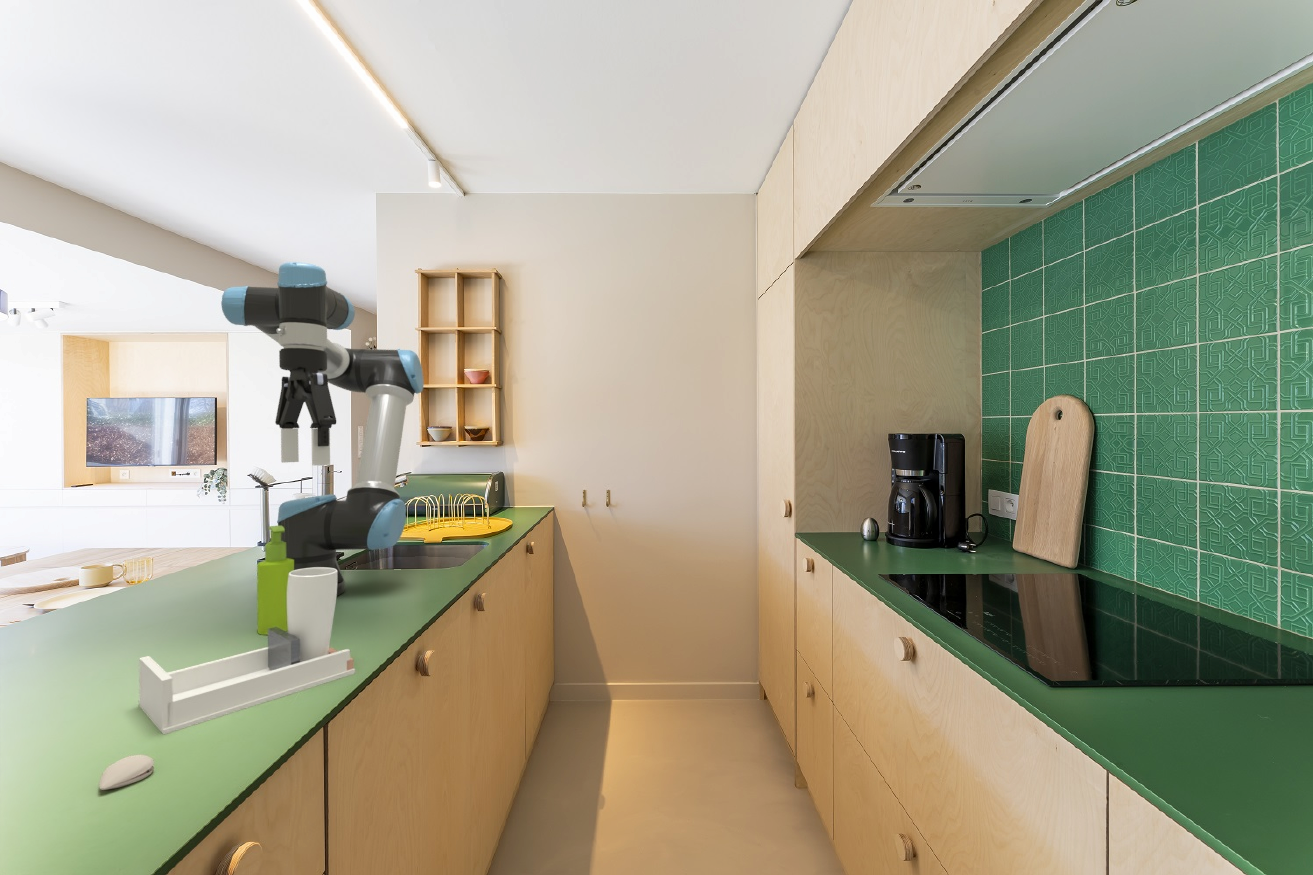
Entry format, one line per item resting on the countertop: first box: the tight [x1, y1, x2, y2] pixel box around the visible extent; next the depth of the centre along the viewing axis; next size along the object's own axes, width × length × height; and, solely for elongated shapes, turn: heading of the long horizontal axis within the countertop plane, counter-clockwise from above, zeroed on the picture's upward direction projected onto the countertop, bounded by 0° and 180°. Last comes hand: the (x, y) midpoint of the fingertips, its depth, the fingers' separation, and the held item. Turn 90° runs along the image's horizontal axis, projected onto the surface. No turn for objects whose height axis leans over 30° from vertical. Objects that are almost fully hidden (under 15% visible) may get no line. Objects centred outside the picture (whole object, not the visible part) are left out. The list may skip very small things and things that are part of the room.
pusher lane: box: [138, 646, 356, 735], centre depth 83 cm, size 23×13×7 cm, turn 142°
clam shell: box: [98, 754, 155, 791], centre depth 61 cm, size 4×5×2 cm
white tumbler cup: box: [287, 567, 338, 662], centre depth 89 cm, size 7×7×15 cm
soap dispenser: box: [256, 525, 294, 636], centre depth 109 cm, size 6×7×20 cm
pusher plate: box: [267, 627, 300, 670], centre depth 86 cm, size 1×9×6 cm, turn 52°
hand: (305, 463), depth 105 cm, fingers open, 13 cm apart
